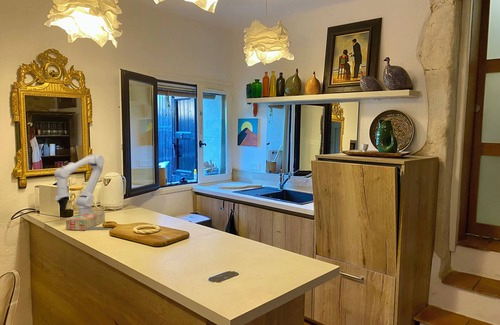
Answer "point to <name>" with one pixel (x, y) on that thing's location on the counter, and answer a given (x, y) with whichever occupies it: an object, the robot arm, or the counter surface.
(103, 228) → the strip
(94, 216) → the patterned cardboard box
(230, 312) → the counter surface
